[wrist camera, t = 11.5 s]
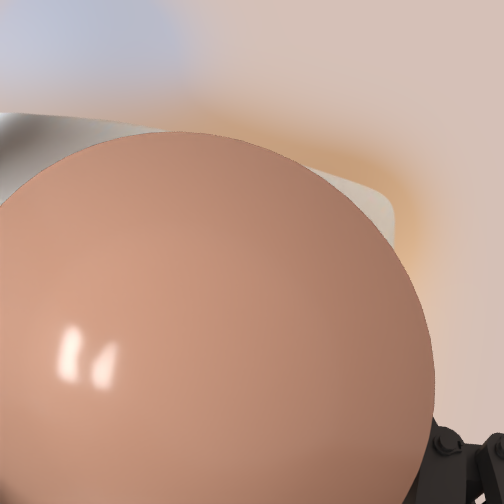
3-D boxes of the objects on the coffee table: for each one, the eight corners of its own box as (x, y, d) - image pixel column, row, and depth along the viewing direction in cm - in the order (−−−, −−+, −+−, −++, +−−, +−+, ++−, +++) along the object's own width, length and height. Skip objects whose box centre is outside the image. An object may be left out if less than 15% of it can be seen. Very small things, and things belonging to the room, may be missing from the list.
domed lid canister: (88, 446, 11) (-59, 495, 2) (122, 271, 14) (31, 124, 5) (279, 483, 11) (380, 601, 2) (302, 303, 15) (418, 182, 6)
